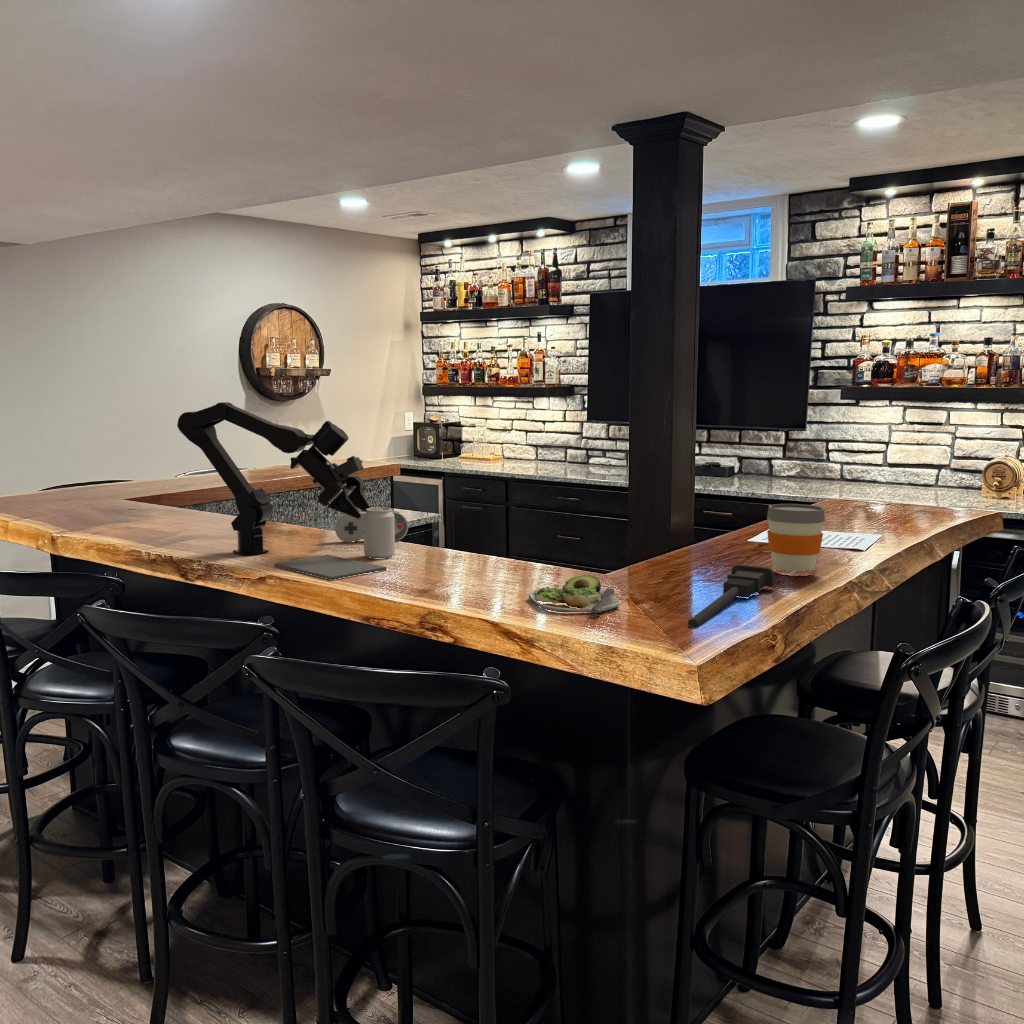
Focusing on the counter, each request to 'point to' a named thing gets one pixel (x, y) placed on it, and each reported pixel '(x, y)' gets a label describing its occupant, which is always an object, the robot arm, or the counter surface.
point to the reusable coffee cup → (795, 535)
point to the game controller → (354, 527)
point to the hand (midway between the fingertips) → (365, 514)
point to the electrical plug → (737, 588)
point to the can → (379, 533)
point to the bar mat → (329, 566)
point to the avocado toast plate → (577, 596)
